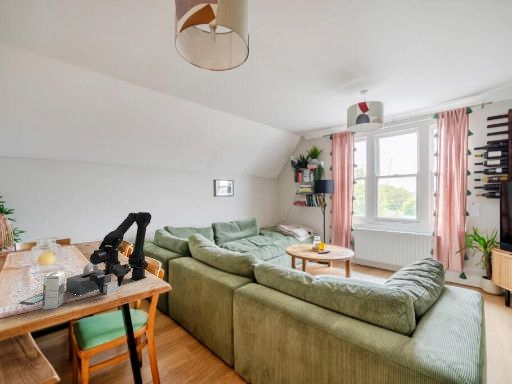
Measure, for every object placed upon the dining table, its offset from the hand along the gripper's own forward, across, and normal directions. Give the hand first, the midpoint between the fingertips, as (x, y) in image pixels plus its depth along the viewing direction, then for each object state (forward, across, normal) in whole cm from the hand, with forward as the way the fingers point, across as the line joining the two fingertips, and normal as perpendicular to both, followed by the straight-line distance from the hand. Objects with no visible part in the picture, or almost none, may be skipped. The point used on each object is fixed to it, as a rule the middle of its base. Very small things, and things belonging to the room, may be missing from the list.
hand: (110, 289), depth 122 cm
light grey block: (+1, 0, 0) cm, 1 cm away
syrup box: (+2, -21, +8) cm, 23 cm away
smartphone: (+2, -18, +23) cm, 29 cm away
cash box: (+1, -2, +14) cm, 14 cm away
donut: (+2, +7, +27) cm, 28 cm away
